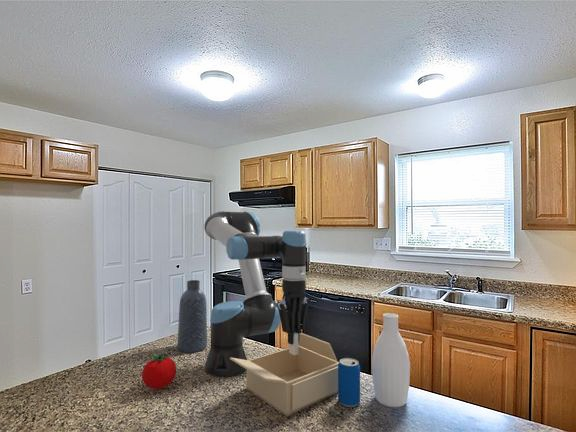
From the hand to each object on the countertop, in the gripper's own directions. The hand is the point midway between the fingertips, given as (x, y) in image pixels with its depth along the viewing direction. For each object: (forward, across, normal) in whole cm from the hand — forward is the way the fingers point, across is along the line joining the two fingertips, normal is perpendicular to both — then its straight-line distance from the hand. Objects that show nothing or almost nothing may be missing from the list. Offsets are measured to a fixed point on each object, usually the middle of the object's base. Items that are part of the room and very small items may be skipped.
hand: (293, 353), depth 107 cm
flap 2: (+3, +11, 0) cm, 11 cm away
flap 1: (+3, -11, 0) cm, 11 cm away
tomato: (+12, -32, +29) cm, 45 cm away
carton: (+12, 0, 0) cm, 12 cm away
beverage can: (+12, +8, -16) cm, 21 cm away
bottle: (+12, +19, -23) cm, 32 cm away
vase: (+12, -9, +55) cm, 57 cm away
